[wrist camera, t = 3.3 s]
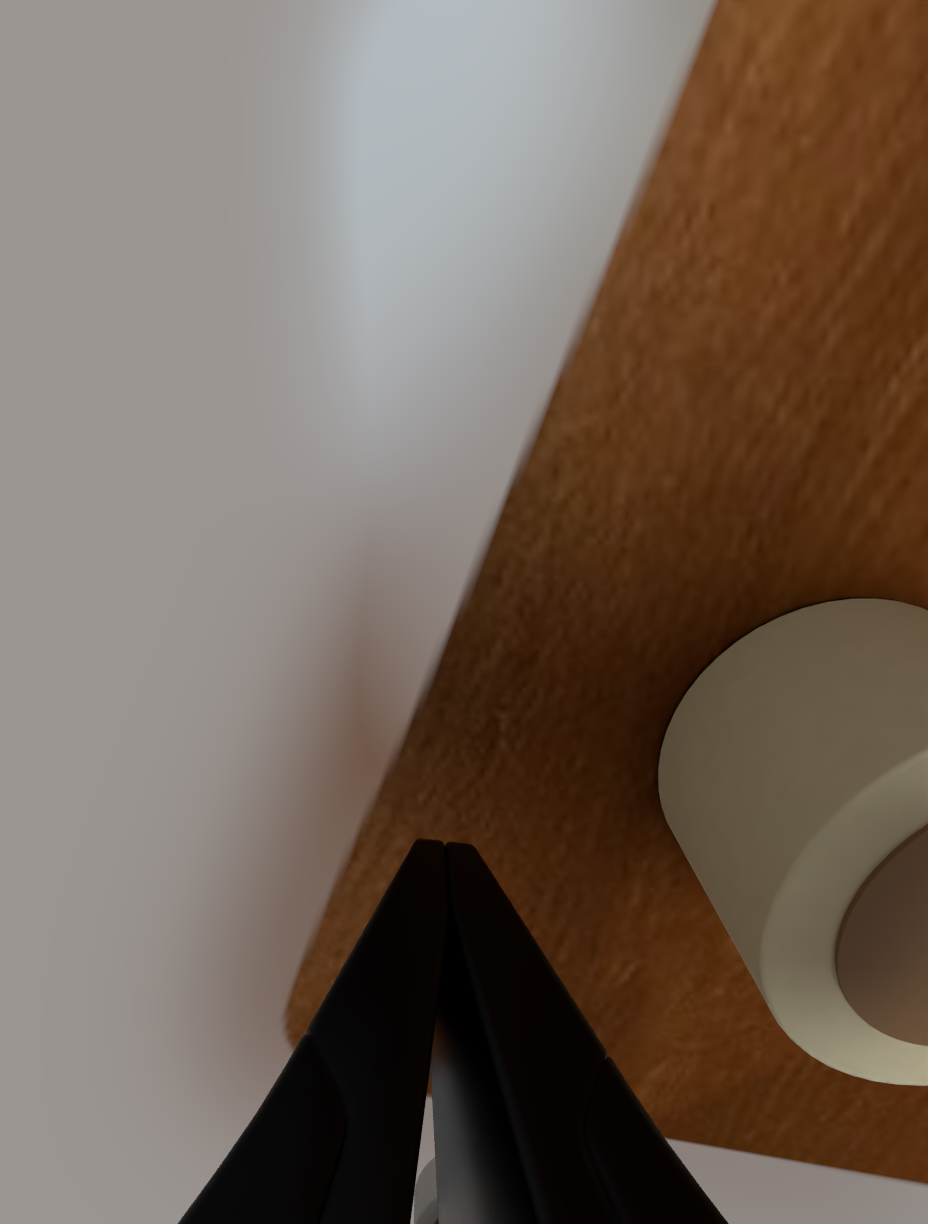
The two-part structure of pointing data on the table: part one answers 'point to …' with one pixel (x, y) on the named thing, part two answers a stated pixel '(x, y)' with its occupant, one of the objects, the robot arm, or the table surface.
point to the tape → (817, 824)
